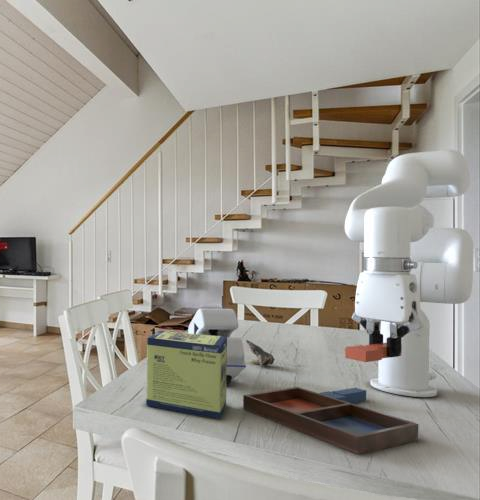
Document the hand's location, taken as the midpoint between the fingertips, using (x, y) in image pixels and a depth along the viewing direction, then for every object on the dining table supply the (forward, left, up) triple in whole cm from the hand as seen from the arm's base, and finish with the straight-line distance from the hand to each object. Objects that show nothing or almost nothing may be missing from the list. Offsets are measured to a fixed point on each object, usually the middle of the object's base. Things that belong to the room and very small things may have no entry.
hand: (384, 354), depth 99 cm
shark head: (-12, -40, -14) cm, 44 cm away
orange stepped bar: (+3, 0, 0) cm, 3 cm away
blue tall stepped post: (-1, -9, -13) cm, 16 cm away
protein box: (+33, -20, -14) cm, 41 cm away
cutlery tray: (+15, -2, -13) cm, 20 cm away
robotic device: (+11, -34, -14) cm, 39 cm away
